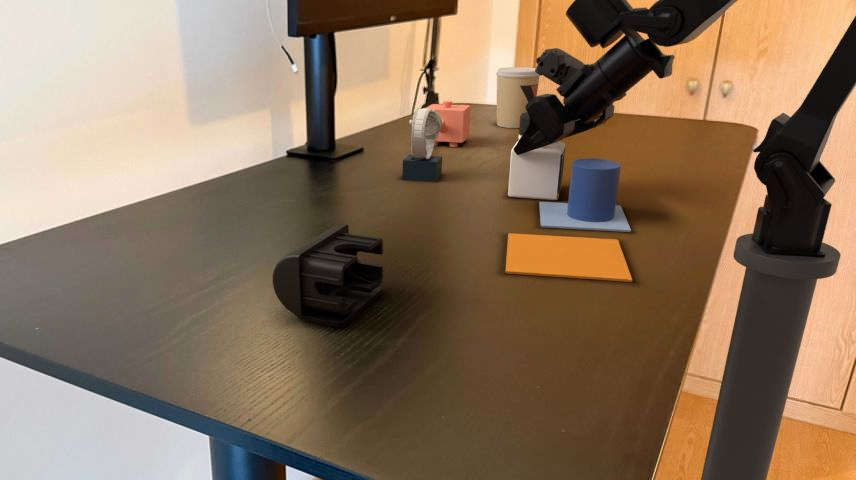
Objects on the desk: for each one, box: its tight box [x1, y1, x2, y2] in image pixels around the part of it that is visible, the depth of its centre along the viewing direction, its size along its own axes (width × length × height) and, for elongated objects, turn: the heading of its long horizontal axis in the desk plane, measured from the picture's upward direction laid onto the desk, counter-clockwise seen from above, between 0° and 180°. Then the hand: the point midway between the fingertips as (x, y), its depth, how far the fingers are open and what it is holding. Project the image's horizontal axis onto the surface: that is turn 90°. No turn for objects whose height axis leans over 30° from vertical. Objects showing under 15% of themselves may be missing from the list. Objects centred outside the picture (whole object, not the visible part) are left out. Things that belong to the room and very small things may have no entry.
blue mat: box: [538, 201, 632, 233], centre depth 95 cm, size 11×11×1 cm
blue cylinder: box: [567, 158, 621, 222], centre depth 94 cm, size 6×6×7 cm
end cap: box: [272, 224, 384, 329], centre depth 69 cm, size 10×7×7 cm
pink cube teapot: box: [425, 100, 471, 148], centre depth 139 cm, size 8×12×8 cm, turn 161°
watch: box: [402, 107, 443, 182], centre depth 114 cm, size 6×8×11 cm
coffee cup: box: [495, 66, 541, 129], centre depth 156 cm, size 9×9×12 cm
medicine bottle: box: [507, 112, 566, 201], centre depth 104 cm, size 7×7×12 cm
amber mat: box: [505, 232, 633, 283], centre depth 81 cm, size 13×13×1 cm
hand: (529, 147), depth 105 cm, fingers closed on medicine bottle, 8 cm apart
